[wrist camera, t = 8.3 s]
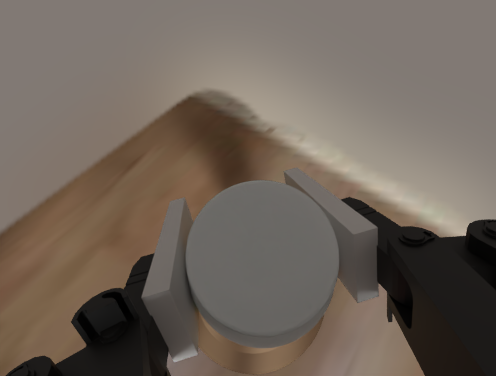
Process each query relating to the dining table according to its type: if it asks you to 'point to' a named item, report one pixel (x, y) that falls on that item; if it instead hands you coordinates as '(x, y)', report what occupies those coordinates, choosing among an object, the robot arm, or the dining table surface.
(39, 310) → the dining table surface
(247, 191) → the supplement bottle
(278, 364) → the plate
